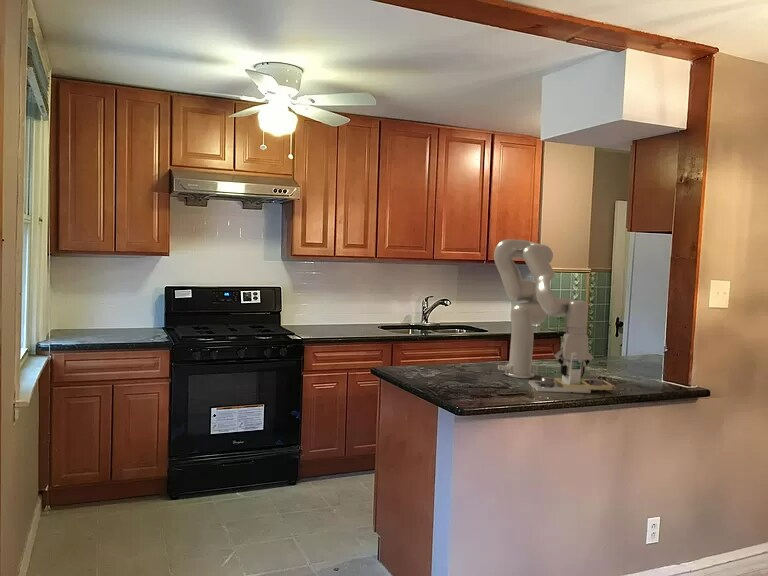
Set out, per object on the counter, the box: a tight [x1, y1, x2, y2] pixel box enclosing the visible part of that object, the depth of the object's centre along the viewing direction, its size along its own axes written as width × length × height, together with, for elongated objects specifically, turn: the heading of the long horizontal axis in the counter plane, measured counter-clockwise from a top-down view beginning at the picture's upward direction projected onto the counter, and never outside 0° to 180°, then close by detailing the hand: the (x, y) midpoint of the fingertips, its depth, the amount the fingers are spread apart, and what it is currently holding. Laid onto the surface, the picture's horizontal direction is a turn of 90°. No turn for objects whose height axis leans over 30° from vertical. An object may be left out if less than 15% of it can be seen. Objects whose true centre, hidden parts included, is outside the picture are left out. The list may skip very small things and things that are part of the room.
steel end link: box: [528, 376, 592, 394], centre depth 248 cm, size 21×11×4 cm, turn 94°
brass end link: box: [553, 377, 617, 395], centre depth 249 cm, size 21×11×4 cm, turn 94°
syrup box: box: [561, 352, 584, 385], centre depth 248 cm, size 6×6×14 cm
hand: (572, 374), depth 248 cm, fingers closed on syrup box, 6 cm apart
